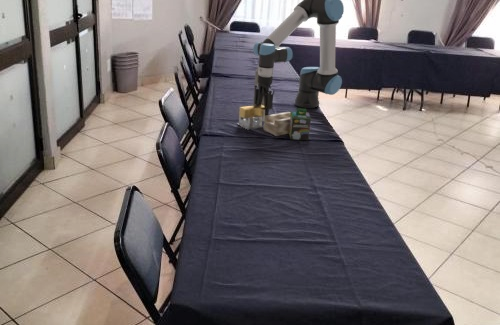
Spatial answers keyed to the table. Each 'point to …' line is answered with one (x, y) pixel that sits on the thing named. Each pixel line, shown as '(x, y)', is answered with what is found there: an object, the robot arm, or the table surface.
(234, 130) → the table surface
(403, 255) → the table surface
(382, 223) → the table surface
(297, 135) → the chalk box
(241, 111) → the wooden block
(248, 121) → the stand
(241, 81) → the table surface
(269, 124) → the beige channeled block
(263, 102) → the thermos bottle
